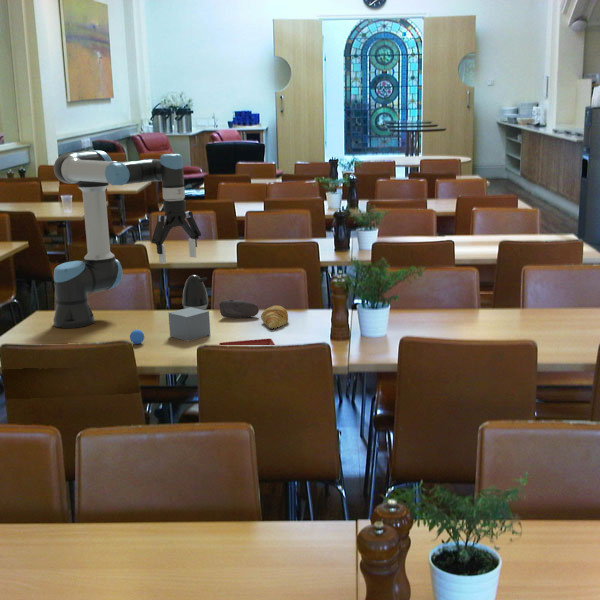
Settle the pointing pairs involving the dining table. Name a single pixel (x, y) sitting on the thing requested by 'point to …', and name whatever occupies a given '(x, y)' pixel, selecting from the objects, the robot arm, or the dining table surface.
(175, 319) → the matte grey cube
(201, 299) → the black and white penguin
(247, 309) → the perforated stone tool
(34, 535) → the dining table surface
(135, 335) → the ball
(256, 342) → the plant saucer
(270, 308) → the croissant
